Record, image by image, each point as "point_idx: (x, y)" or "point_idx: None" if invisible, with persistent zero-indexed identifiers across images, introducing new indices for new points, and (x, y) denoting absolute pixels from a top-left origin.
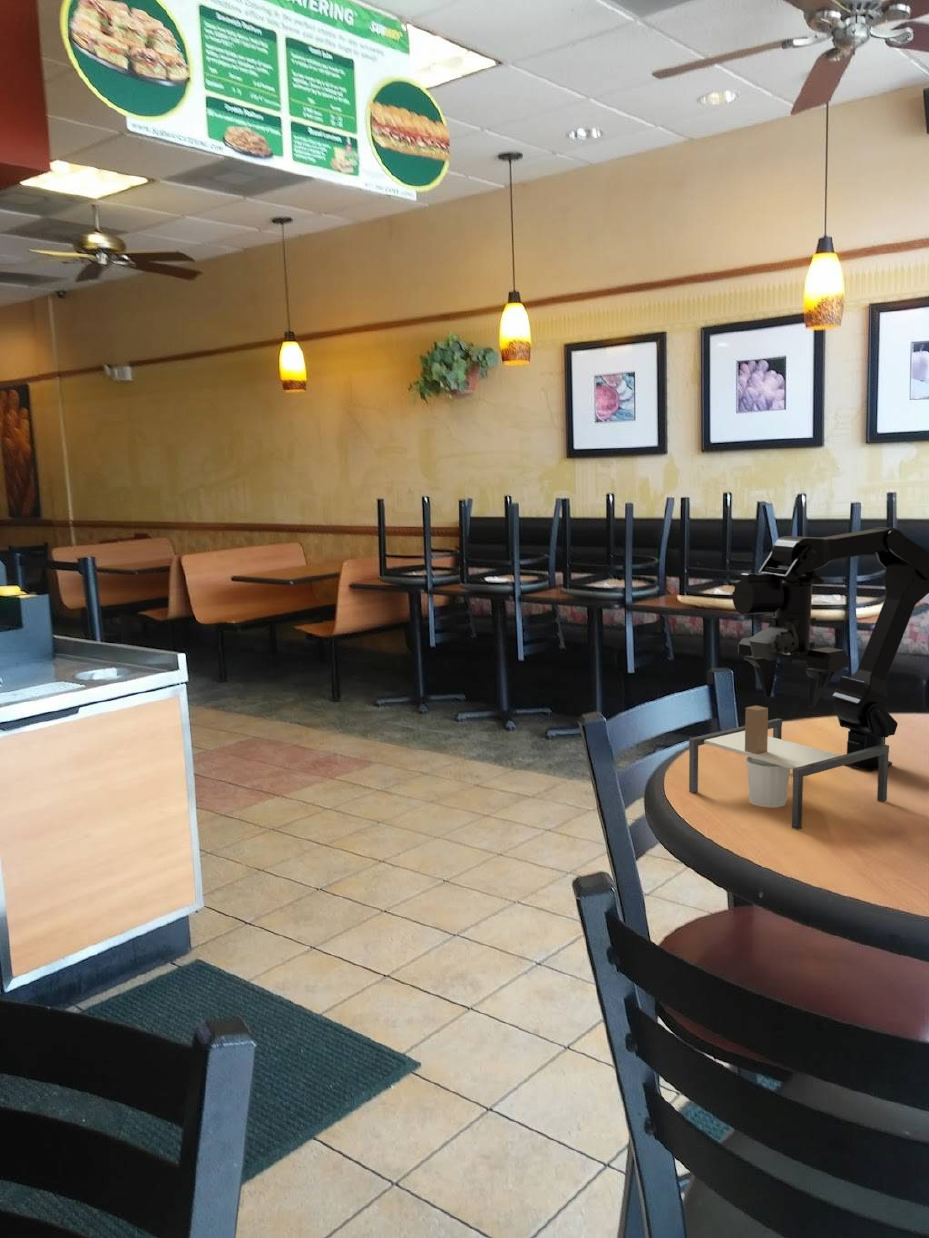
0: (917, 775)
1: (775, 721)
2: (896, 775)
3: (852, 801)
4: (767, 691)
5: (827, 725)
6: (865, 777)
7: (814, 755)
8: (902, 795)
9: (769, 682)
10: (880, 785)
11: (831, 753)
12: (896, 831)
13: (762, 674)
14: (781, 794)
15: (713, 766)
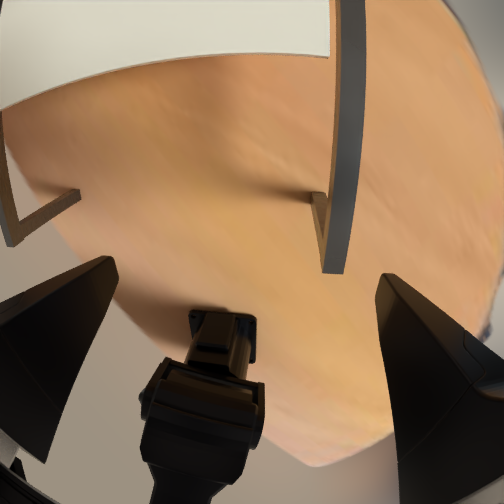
0: (146, 334)
1: (327, 239)
2: (159, 319)
3: (92, 152)
4: (388, 297)
5: (376, 421)
6: (173, 281)
7: (17, 52)
8: (85, 242)
9: (399, 352)
10: (57, 199)
11: (9, 100)
12: (8, 111)
13: (451, 355)
14: None
15: (429, 118)
